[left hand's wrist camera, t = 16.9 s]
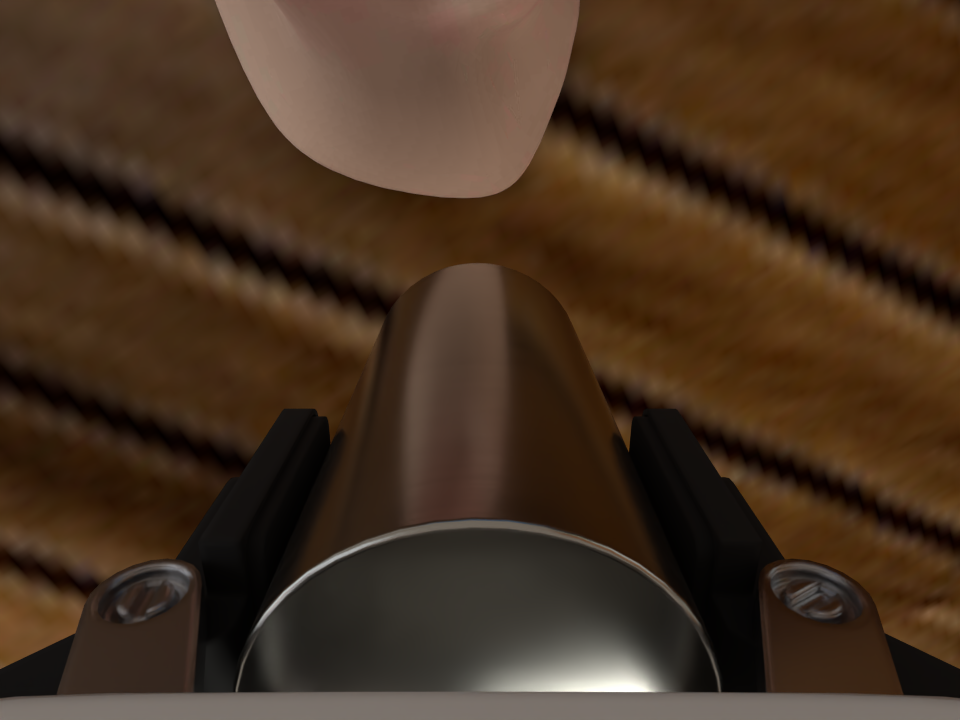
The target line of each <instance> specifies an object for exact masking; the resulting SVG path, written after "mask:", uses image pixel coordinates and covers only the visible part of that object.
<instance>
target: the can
mask: <svg viewBox="0 0 960 720" xmlns="http://www.w3.org/2000/svg"><path fill="white" fill-rule="evenodd" d="M233 692H724V686H723V678H722V670H721V667H720V663H719V660H718V657H717V654H716V650H715V647H714V645H713V642H712V640H711V638H710V635H709V633H708V631H707V629H706V626H705V624H704V622H703V620H702V617H701V615H700V613H699V611H698V608H697V606H696V604H695V602H694V599H693V597H692V595H691V592H690V590H689V588H688V586H687V583H686V581H685V579H684V577H683V574H682V572H681V570H680V568H679V565H678V563H677V561H676V558H675V556H674V554H673V552H672V549H671V547H670V545H669V543H668V540H667V538H666V536H665V534H664V531H663V529H662V527H661V525H660V522H659V520H658V518H657V515H656V513H655V511H654V509H653V506H652V504H651V502H650V500H649V497H648V495H647V493H646V491H645V488H644V486H643V484H642V481H641V479H640V477H639V475H638V472H637V470H636V468H635V466H634V463H633V461H632V459H631V457H630V454H629V452H628V450H627V448H626V445H625V443H624V441H623V438H622V436H621V434H620V432H619V429H618V427H617V425H616V423H615V420H614V418H613V416H612V414H611V411H610V409H609V407H608V405H607V402H606V400H605V398H604V395H603V393H602V391H601V389H600V386H599V384H598V382H597V380H596V377H595V375H594V373H593V371H592V368H591V366H590V364H589V361H588V359H587V357H586V355H585V352H584V350H583V348H582V346H581V343H580V341H579V339H578V337H577V334H576V332H575V330H574V328H573V325H572V323H571V321H570V319H569V317H568V315H567V313H566V311H565V310H564V308H563V307H562V305H561V304H560V303H559V301H558V300H557V299H556V298H555V297H554V296H553V295H552V294H551V292H550V291H548V290H547V289H546V288H545V287H544V286H542V285H541V284H540V283H539V282H537V281H535V280H534V279H532V278H531V277H529V276H527V275H525V274H523V273H521V272H518V271H516V270H513V269H510V268H507V267H504V266H499V265H493V264H481V263H472V264H461V265H456V266H452V267H448V268H445V269H442V270H439V271H436V272H434V273H432V274H430V275H428V276H426V277H424V278H422V279H421V280H420V281H418V282H417V283H415V284H414V285H412V286H411V287H410V288H409V289H408V290H407V291H406V292H405V293H404V294H402V295H401V297H400V298H399V299H398V300H397V301H396V303H395V304H394V305H393V307H392V308H391V310H390V312H389V313H388V315H387V317H386V319H385V321H384V323H383V326H382V328H381V330H380V333H379V335H378V337H377V340H376V342H375V344H374V346H373V349H372V351H371V353H370V356H369V358H368V360H367V363H366V365H365V367H364V369H363V372H362V374H361V376H360V379H359V381H358V383H357V386H356V388H355V390H354V393H353V395H352V397H351V399H350V402H349V404H348V406H347V409H346V411H345V413H344V416H343V418H342V420H341V422H340V425H339V427H338V429H337V432H336V434H335V436H334V439H333V441H332V443H331V446H330V448H329V450H328V452H327V455H326V457H325V459H324V462H323V464H322V466H321V469H320V471H319V473H318V475H317V478H316V480H315V482H314V485H313V487H312V489H311V492H310V494H309V496H308V499H307V501H306V503H305V505H304V508H303V510H302V512H301V515H300V517H299V519H298V522H297V524H296V526H295V529H294V531H293V533H292V535H291V538H290V540H289V542H288V545H287V547H286V549H285V552H284V554H283V556H282V558H281V561H280V563H279V565H278V568H277V570H276V572H275V575H274V577H273V579H272V582H271V584H270V586H269V588H268V591H267V593H266V595H265V598H264V600H263V602H262V605H261V607H260V609H259V611H258V614H257V616H256V618H255V621H254V623H253V625H252V628H251V630H250V632H249V635H248V637H247V639H246V642H245V644H244V646H243V649H242V651H241V653H240V656H239V659H238V663H237V667H236V672H235V676H234V680H233Z"/></svg>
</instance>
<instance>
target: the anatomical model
mask: <svg viewBox="0 0 960 720" xmlns="http://www.w3.org/2000/svg"><path fill="white" fill-rule="evenodd" d="M215 2H216V4H217V7H218V10H219V12H220V15H221V17H222V20H223V22H224V25H225V27H226V30H227V32H228V35H229V38H230V40H231V42H232V45H233V47H234V49H235V51H236V54H237V56H238V58H239V60H240V63H241V65H242V67H243V69H244V71H245V73H246V75H247V77H248V79H249V81H250V83H251V85H252V87H253V89H254V91H255V93H256V95H257V97H258V99H259V100H260V102H261V104H262V105H263V107H264V108H265V110H266V112H267V113H268V115H269V116H270V118H271V119H272V121H273V122H274V124H275V125H276V127H277V128H278V129H279V130H280V131H281V132H282V134H283V135H284V136H285V137H286V138H287V139H288V140H289V141H290V142H291V143H292V144H293V145H294V146H295V147H297V148H298V149H299V150H300V151H301V152H303V153H304V154H305V155H307V156H308V157H310V158H311V159H313V160H314V161H316V162H317V163H319V164H321V165H323V166H325V167H327V168H329V169H331V170H333V171H336V172H338V173H340V174H343V175H345V176H348V177H350V178H353V179H355V180H358V181H362V182H365V183H368V184H372V185H375V186H379V187H382V188H387V189H393V190H398V191H403V192H408V193H413V194H421V195H429V196H437V197H451V198H476V197H484V196H490V195H493V194H496V193H499V192H501V191H503V190H505V189H506V188H508V187H510V186H511V185H512V184H513V183H515V182H516V181H517V180H518V179H519V177H520V176H521V175H522V174H523V172H524V171H525V170H526V168H527V167H528V165H529V164H530V162H531V160H532V158H533V156H534V154H535V152H536V150H537V148H538V146H539V144H540V142H541V140H542V137H543V135H544V132H545V130H546V127H547V125H548V122H549V119H550V117H551V114H552V112H553V109H554V107H555V104H556V102H557V99H558V97H559V94H560V91H561V88H562V85H563V82H564V79H565V75H566V72H567V68H568V64H569V59H570V55H571V50H572V46H573V42H574V37H575V33H576V28H577V22H578V17H579V4H580V0H215Z"/></svg>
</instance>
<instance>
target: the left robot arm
mask: <svg viewBox="0 0 960 720" xmlns="http://www.w3.org/2000/svg"><path fill="white" fill-rule="evenodd" d="M330 446H331V445H330V434H329V424H328V419H327V417H318V414H317V411H316V410H315V409H284V410H283V411H282V412H281V414H280V415H279V417H278V418H277V420H276V421H275V423H274V425H273V426H272V428H271V429H270V431H269V432H268V434H267V435H266V437H265V438H264V440H263V442H262V443H261V445H260V446H259V448H258V449H257V451H256V452H255V454H254V455H253V457H252V459H251V460H250V462H249V463H248V465H247V466H246V468H245V469H244V471H243V472H242V474H241V476H240V477H235V478H231V479H230V480H229V481H228V482H227V483H226V485H225V486H224V488H223V489H222V491H221V492H220V494H219V495H218V497H217V498H216V500H215V501H214V503H213V504H212V506H211V507H210V509H209V510H208V512H207V513H206V515H205V516H204V518H203V519H202V521H201V522H200V524H199V525H198V527H197V528H196V530H195V531H194V533H193V534H192V535H191V537H190V538H189V540H188V541H187V543H186V544H185V546H184V547H183V549H182V550H181V552H180V553H179V555H178V556H177V558H176V559H160V560H151V561H147V562H143V563H140V564H136V565H133V566H131V567H128V568H126V569H124V570H122V571H119V572H117V573H116V574H114V575H113V576H111V577H109V578H108V579H106V580H105V581H103V582H102V583H101V584H100V585H99V586H98V587H97V588H96V589H95V590H94V591H93V592H92V593H91V594H90V596H89V598H88V600H87V601H86V603H85V605H84V608H83V611H82V614H81V618H80V621H79V624H78V627H77V630H76V633H75V634H73V635H71V636H69V637H67V638H65V639H63V640H60V641H58V642H56V643H54V644H52V645H50V646H48V647H46V648H44V649H42V650H39V651H37V652H35V653H33V654H31V655H29V656H27V657H25V658H23V659H21V660H19V661H16V662H14V663H12V664H10V665H8V666H6V667H4V668H2V669H0V720H960V669H959V668H956V667H954V666H952V665H950V664H948V663H946V662H944V661H942V660H940V659H938V658H935V657H933V656H931V655H929V654H927V653H925V652H923V651H921V650H919V649H917V648H915V647H912V646H910V645H908V644H906V643H904V642H902V641H900V640H898V639H896V638H894V637H891V636H889V635H887V634H885V633H884V630H883V627H882V624H881V621H880V618H879V614H878V611H877V608H876V605H875V603H874V601H873V600H872V598H871V596H870V594H869V593H868V592H867V591H866V590H865V589H864V588H863V587H862V586H861V585H860V584H859V583H858V582H857V581H855V580H854V579H852V578H851V577H849V576H847V575H846V574H844V573H843V572H841V571H838V570H836V569H834V568H832V567H829V566H827V565H824V564H820V563H817V562H813V561H809V560H800V559H784V557H783V556H782V554H781V553H780V551H779V550H778V548H777V547H776V545H775V544H774V542H773V541H772V539H771V538H770V537H769V535H768V534H767V532H766V531H765V529H764V528H763V526H762V525H761V523H760V522H759V520H758V519H757V517H756V516H755V514H754V513H753V511H752V510H751V508H750V507H749V505H748V504H747V502H746V501H745V499H744V498H743V496H742V495H741V493H740V492H739V490H738V489H737V487H736V486H735V484H734V483H733V482H732V481H731V480H730V479H729V478H726V477H720V475H719V474H718V472H717V470H716V469H715V467H714V466H713V464H712V463H711V461H710V460H709V458H708V457H707V455H706V453H705V452H704V450H703V449H702V447H701V446H700V444H699V443H698V441H697V440H696V438H695V436H694V435H693V433H692V432H691V430H690V429H689V427H688V426H687V424H686V423H685V421H684V419H683V418H682V416H681V415H680V413H679V412H678V410H676V409H645V410H644V411H643V415H642V417H634V418H633V420H632V426H631V437H630V448H629V454H630V457H631V459H632V461H633V463H634V466H635V468H636V470H637V472H638V475H639V477H640V479H641V481H642V484H643V486H644V488H645V491H646V493H647V495H648V497H649V500H650V502H651V504H652V506H653V509H654V511H655V513H656V515H657V518H658V520H659V522H660V525H661V527H662V529H663V531H664V534H665V536H666V538H667V540H668V543H669V545H670V547H671V549H672V552H673V554H674V556H675V558H676V561H677V563H678V565H679V568H680V570H681V572H682V574H683V577H684V579H685V581H686V583H687V586H688V588H689V590H690V592H691V595H692V597H693V599H694V602H695V604H696V606H697V608H698V611H699V613H700V615H701V617H702V620H703V622H704V624H705V626H706V629H707V631H708V633H709V635H710V638H711V640H712V642H713V645H714V647H715V650H716V654H717V657H718V660H719V663H720V667H721V670H722V678H723V686H724V692H233V680H234V676H235V672H236V667H237V663H238V659H239V656H240V653H241V651H242V649H243V646H244V644H245V642H246V639H247V637H248V635H249V632H250V630H251V628H252V625H253V623H254V621H255V618H256V616H257V614H258V611H259V609H260V607H261V605H262V602H263V600H264V598H265V595H266V593H267V591H268V588H269V586H270V584H271V582H272V579H273V577H274V575H275V572H276V570H277V568H278V565H279V563H280V561H281V558H282V556H283V554H284V552H285V549H286V547H287V545H288V542H289V540H290V538H291V535H292V533H293V531H294V529H295V526H296V524H297V522H298V519H299V517H300V515H301V512H302V510H303V508H304V505H305V503H306V501H307V499H308V496H309V494H310V492H311V489H312V487H313V485H314V482H315V480H316V478H317V475H318V473H319V471H320V469H321V466H322V464H323V462H324V459H325V457H326V455H327V452H328V450H329V448H330Z"/></svg>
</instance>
